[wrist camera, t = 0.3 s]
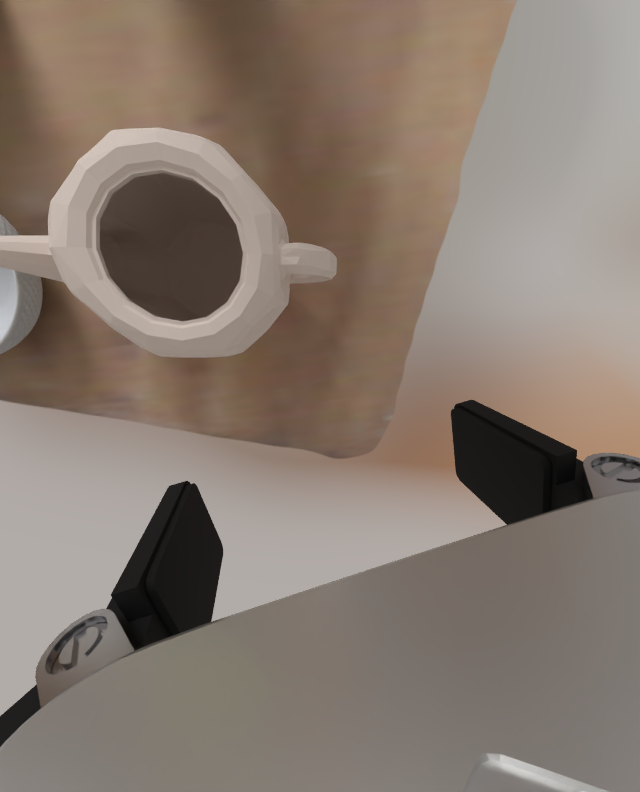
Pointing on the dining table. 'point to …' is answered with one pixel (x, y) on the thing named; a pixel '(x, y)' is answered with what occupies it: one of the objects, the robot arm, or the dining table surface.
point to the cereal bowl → (17, 299)
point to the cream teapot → (170, 245)
